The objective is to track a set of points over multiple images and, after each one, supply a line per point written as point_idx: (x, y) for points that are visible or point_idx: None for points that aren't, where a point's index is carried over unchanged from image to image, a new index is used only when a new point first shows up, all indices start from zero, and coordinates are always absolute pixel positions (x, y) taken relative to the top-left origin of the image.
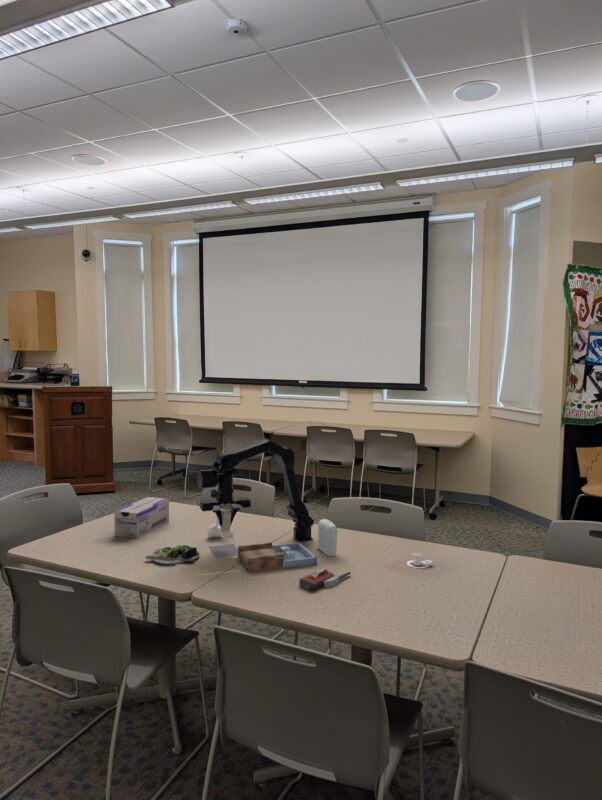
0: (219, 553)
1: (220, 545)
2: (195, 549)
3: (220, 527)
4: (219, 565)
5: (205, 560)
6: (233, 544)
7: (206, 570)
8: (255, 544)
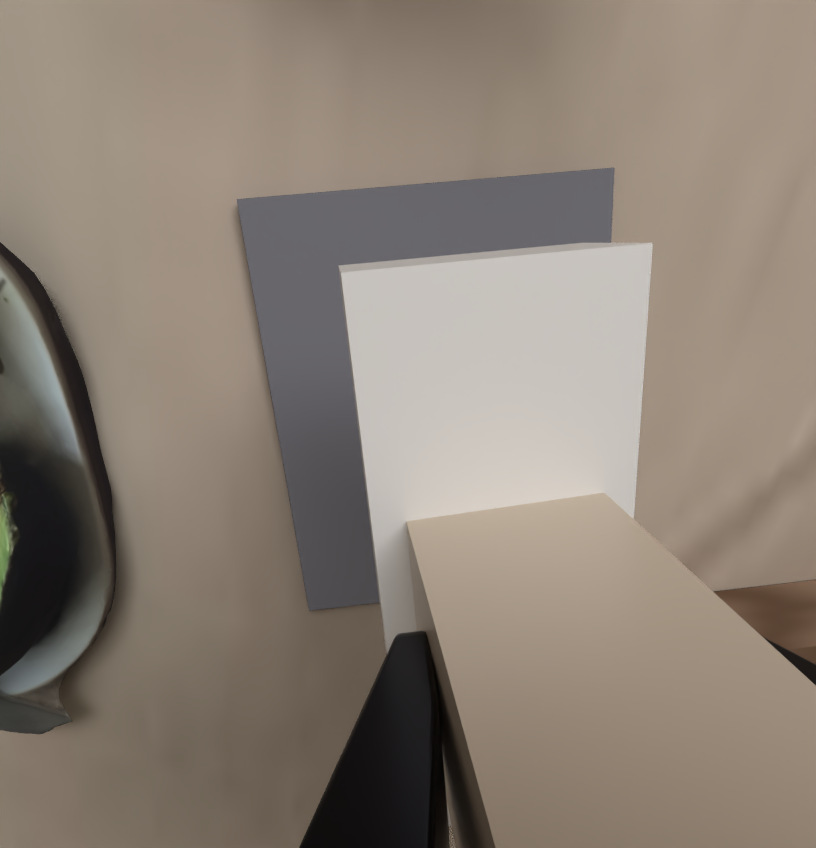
0: (361, 495)
1: (415, 189)
2: (14, 640)
3: (410, 543)
4: (329, 744)
5: (198, 619)
6: (605, 193)
7: (209, 817)
8: None
